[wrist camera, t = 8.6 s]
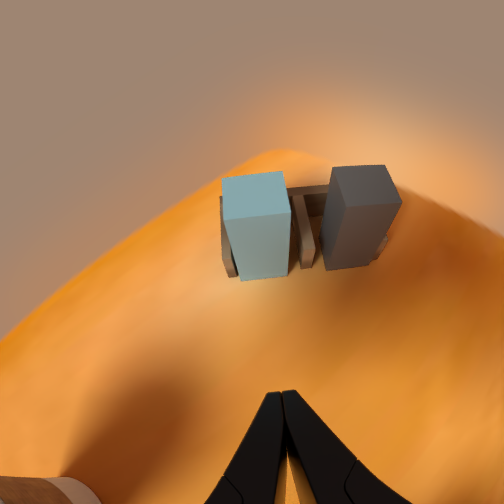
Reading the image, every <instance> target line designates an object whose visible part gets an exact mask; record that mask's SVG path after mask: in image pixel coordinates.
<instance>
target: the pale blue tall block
mask: <svg viewBox="0 0 504 504" xmlns="http://www.w3.org/2000/svg"><path fill="white" fill-rule="evenodd" d="M222 196H223V220H224V224H225V228H226V231H227V235H228V238H229V242H230V245H231V249H232V252H233V256H234V259H235V263H236V266H237V269H238V273H239V276H240V280H241V281H248V280H257V279H266V278H274V277H282V276H287V274H288V259H289V242H290V224H291V210H290V205H289V200H288V195H287V190H286V186H285V181H284V176H283V172H282V171H278V172H269V173H260V174H251V175H243V176H235V177H227V178H222Z"/></svg>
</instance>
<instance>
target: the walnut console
mask: <svg viewBox="0 0 504 504" xmlns="http://www.w3.org/2000/svg"><path fill="white" fill-rule="evenodd" d="M328 189H329V185H318V186H307V187H296V188H286V190H287V195H288V200H289V205H290V210H291V219H292V224H293V229H294V234H295V240H296V245H297V250H298V256H299V261H300V267H301V269H306V268H311V267H312V262H313V258H314V253H315V244H314V240H313V235H312V231H311V226H310V222H309V218H308V217H311V216H321V215H323V214H324V209H325V204H326V199H327V194H328ZM220 219H221V245H222V260H223V263H224V266H225V269H226V271H227V274H228V277H229V278H230V277H237V274H236V263H235V259H234V256H233V252H232V249H231V245H230V242H229V238H228V235H227V231H226V228H225V224H224V220H223V196H220ZM387 241H388V237H387V235H385V237H384V238H383V240H382V242H381V244H380V246H379V247H378V249H377V251H376V253H375V254H374V256H373V258H372V260H374V259H377V258H378V257H379V255H380V253H381V252H382V250H383V248H384V246H385V245H386V243H387Z"/></svg>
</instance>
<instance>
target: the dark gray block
mask: <svg viewBox="0 0 504 504" xmlns="http://www.w3.org/2000/svg"><path fill="white" fill-rule="evenodd" d="M401 204H402V200H401V198H400V196H399V194H398V192H397V189H396V187H395V185H394V183H393V181H392V179H391V177H390V175H389V173H388V171H387V168H386V166H385V165H361V166H342V167H332V172H331V178H330V183H329V189H328V194H327V199H326V204H325V209H324V214H323V219H322V224H321V229H320V233H319V241H320V245H321V250H322V254H323V259H324V263H325V268H326V271H330V270H337V269H345V268H352V267H359V266H366V265H369V263H370V261H371V260H372V258H373V256H374V254H375V253H376V251H377V249H378V247H379V246H380V244H381V242H382V240H383V238H384V237H385V235H386V233H387V231H388V229H389V227H390V225H391V224H392V222H393V220H394V218H395V216H396V214H397V212H398V210H399V208H400V206H401Z"/></svg>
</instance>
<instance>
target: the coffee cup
mask: <svg viewBox="0 0 504 504" xmlns="http://www.w3.org/2000/svg"><path fill="white" fill-rule="evenodd" d="M0 504H101V502H100V500H99V499H98V497H97V496H96V495H95V494H94V492H93V491H92V490H91V489H90V488H88V487H87V486H86V485H85V484H83V483H82V482H80V481H78V480H76V479H74V478H70V477H54V478H26V477H8V476H0Z"/></svg>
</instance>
